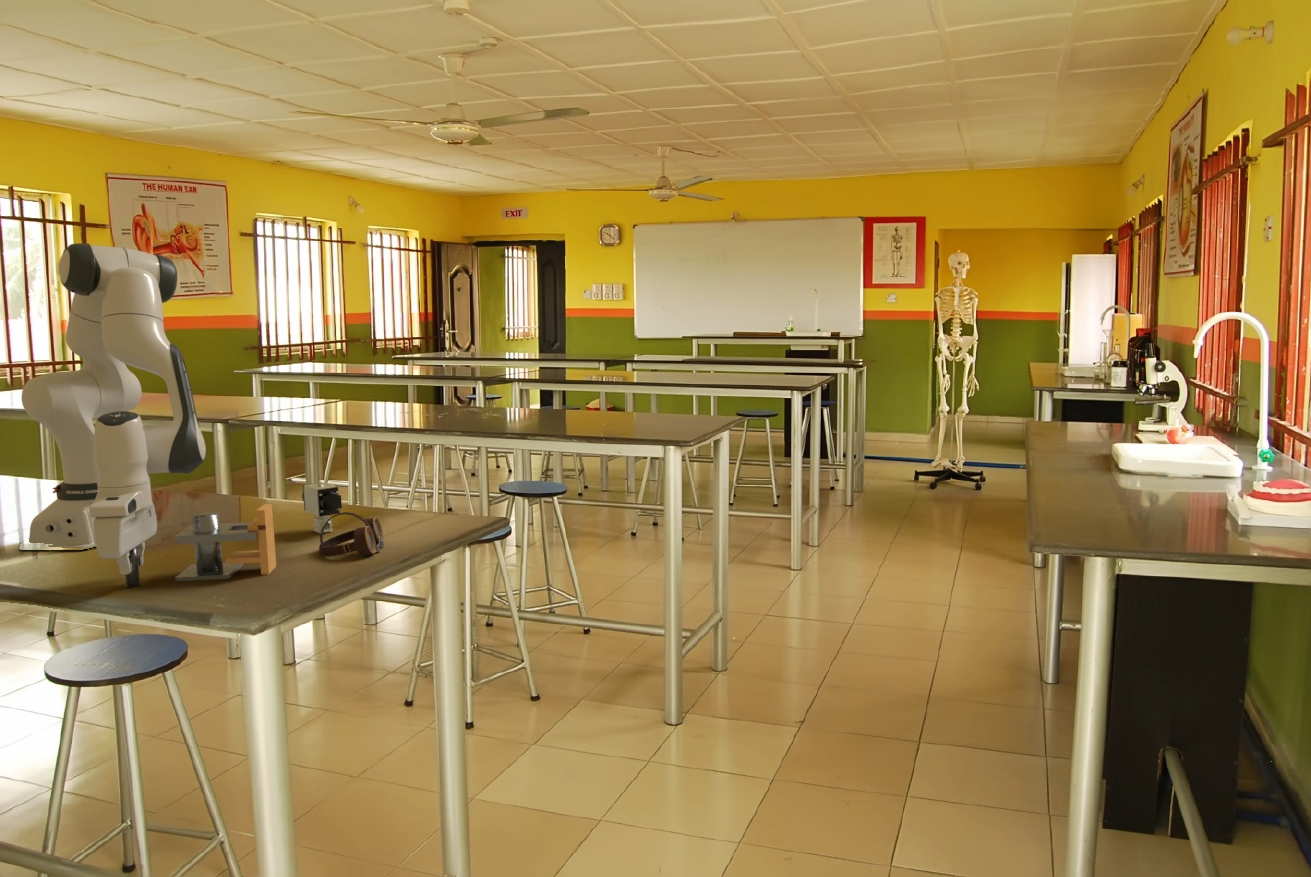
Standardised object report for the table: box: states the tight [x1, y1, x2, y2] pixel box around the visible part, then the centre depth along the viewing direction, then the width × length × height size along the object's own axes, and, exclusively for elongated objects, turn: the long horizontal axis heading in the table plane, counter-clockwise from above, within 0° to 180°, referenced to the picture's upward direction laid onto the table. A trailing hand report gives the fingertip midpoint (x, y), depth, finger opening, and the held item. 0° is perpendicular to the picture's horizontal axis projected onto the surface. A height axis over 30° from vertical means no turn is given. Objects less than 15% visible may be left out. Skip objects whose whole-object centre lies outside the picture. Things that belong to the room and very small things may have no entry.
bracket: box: [225, 503, 277, 576], centre depth 200 cm, size 8×6×13 cm
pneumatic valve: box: [301, 480, 343, 535], centre depth 234 cm, size 6×12×12 cm, turn 42°
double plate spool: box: [173, 511, 259, 582], centre depth 200 cm, size 16×10×12 cm, turn 97°
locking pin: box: [124, 546, 141, 589], centre depth 191 cm, size 2×2×8 cm
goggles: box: [318, 511, 385, 558], centre depth 216 cm, size 15×13×10 cm
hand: (132, 569), depth 191 cm, fingers open, 4 cm apart
